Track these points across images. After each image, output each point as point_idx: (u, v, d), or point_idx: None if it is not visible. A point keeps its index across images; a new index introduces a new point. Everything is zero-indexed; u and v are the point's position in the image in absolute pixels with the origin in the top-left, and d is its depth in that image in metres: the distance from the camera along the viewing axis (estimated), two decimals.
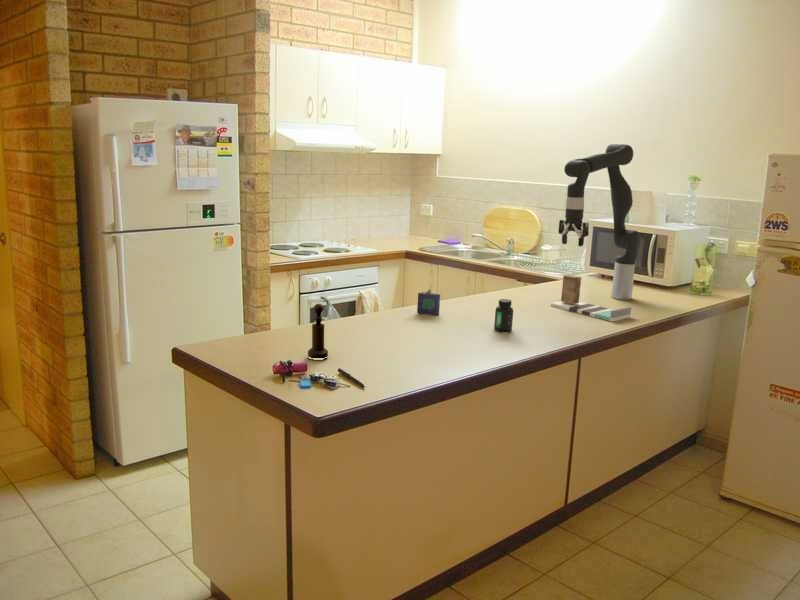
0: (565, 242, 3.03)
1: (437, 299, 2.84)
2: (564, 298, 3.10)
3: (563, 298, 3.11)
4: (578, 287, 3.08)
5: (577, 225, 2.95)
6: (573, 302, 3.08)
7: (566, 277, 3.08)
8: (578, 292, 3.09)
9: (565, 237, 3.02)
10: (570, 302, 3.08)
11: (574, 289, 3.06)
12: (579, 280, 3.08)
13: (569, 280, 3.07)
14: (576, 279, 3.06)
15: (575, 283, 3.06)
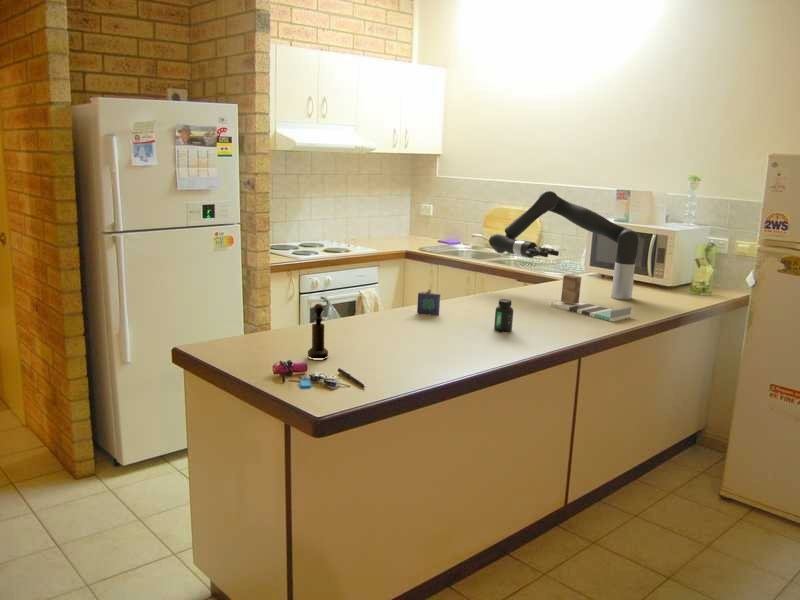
0: (556, 253, 3.18)
1: (437, 299, 2.84)
2: (564, 298, 3.10)
3: (563, 298, 3.11)
4: (578, 287, 3.08)
5: (533, 253, 3.20)
6: (573, 302, 3.08)
7: (566, 277, 3.08)
8: (578, 292, 3.09)
9: (552, 252, 3.20)
10: (570, 302, 3.08)
11: (574, 289, 3.06)
12: (579, 280, 3.08)
13: (569, 280, 3.07)
14: (576, 279, 3.06)
15: (575, 283, 3.06)
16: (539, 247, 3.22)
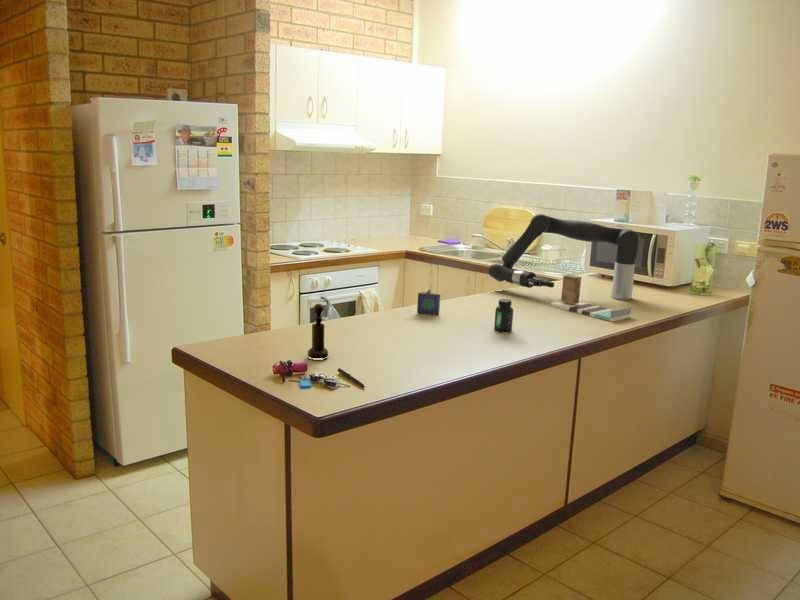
0: None
1: (437, 299, 2.84)
2: (564, 298, 3.10)
3: (563, 298, 3.11)
4: (578, 287, 3.08)
5: None
6: (573, 302, 3.08)
7: (566, 277, 3.08)
8: (578, 292, 3.09)
9: None
10: (570, 302, 3.08)
11: (574, 289, 3.06)
12: (579, 280, 3.08)
13: (569, 280, 3.07)
14: (576, 279, 3.06)
15: (575, 283, 3.06)
16: (537, 277, 3.25)
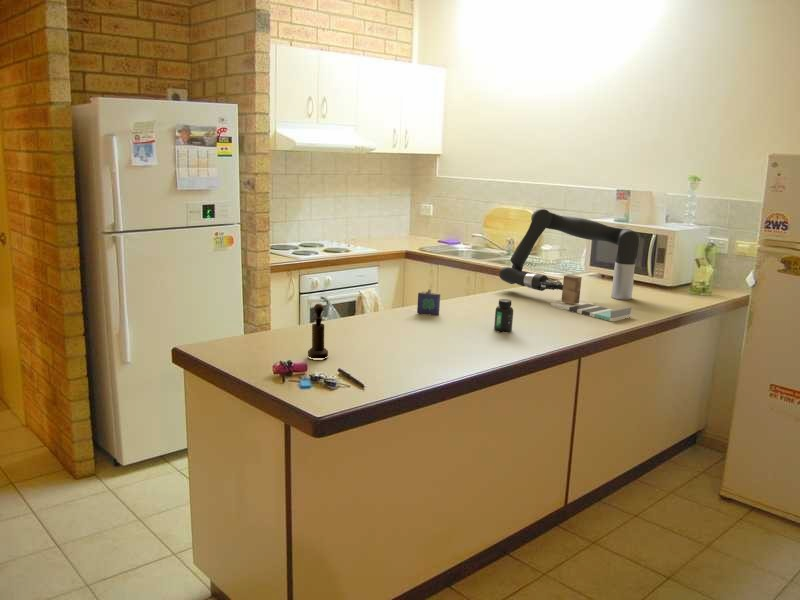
0: None
1: (437, 299, 2.84)
2: (565, 298, 3.10)
3: (563, 298, 3.11)
4: (578, 287, 3.08)
5: None
6: (573, 302, 3.08)
7: (566, 277, 3.08)
8: (578, 292, 3.09)
9: None
10: (570, 302, 3.08)
11: (574, 289, 3.06)
12: (579, 280, 3.08)
13: (569, 280, 3.07)
14: (576, 279, 3.06)
15: (575, 283, 3.06)
16: (549, 280, 3.20)
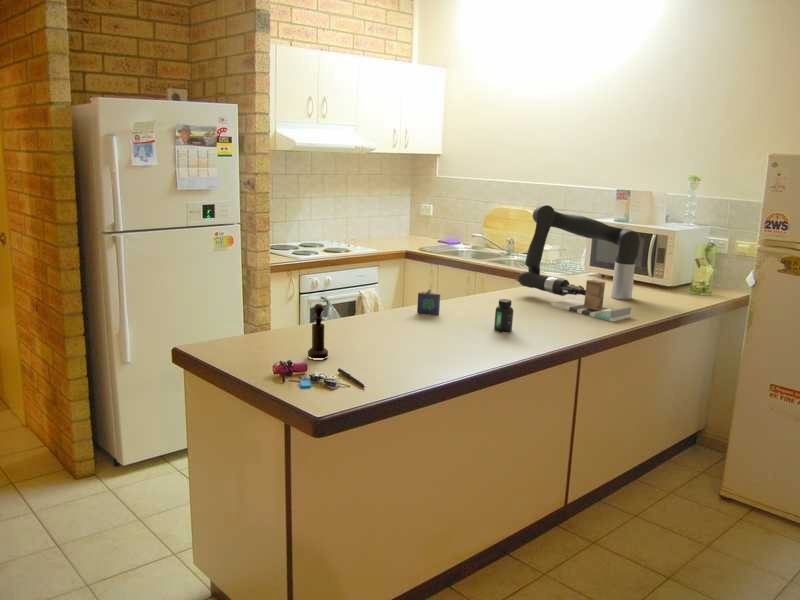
0: None
1: (437, 299, 2.84)
2: (587, 303, 3.01)
3: (586, 304, 3.02)
4: (602, 292, 2.99)
5: None
6: (597, 308, 2.99)
7: (589, 282, 2.99)
8: (602, 297, 3.00)
9: None
10: (594, 308, 2.99)
11: (597, 295, 2.97)
12: (603, 285, 2.99)
13: (593, 285, 2.98)
14: (600, 284, 2.97)
15: (598, 288, 2.97)
16: (571, 285, 3.11)
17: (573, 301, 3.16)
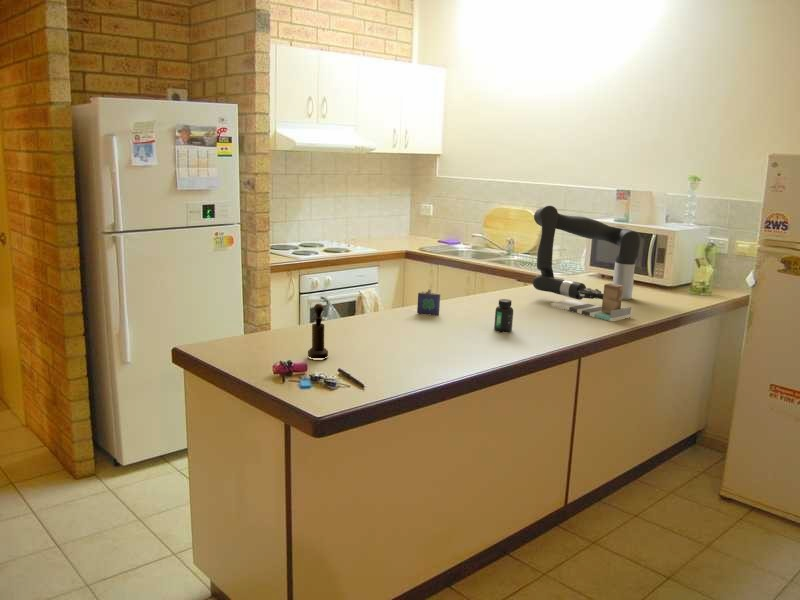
0: None
1: (437, 299, 2.84)
2: (605, 307, 2.95)
3: (604, 308, 2.95)
4: (620, 296, 2.93)
5: (585, 296, 3.02)
6: None
7: (607, 286, 2.93)
8: (620, 302, 2.94)
9: None
10: None
11: (615, 299, 2.91)
12: (621, 289, 2.92)
13: (611, 289, 2.92)
14: (618, 288, 2.90)
15: (617, 292, 2.90)
16: (588, 288, 3.04)
17: (573, 301, 3.16)
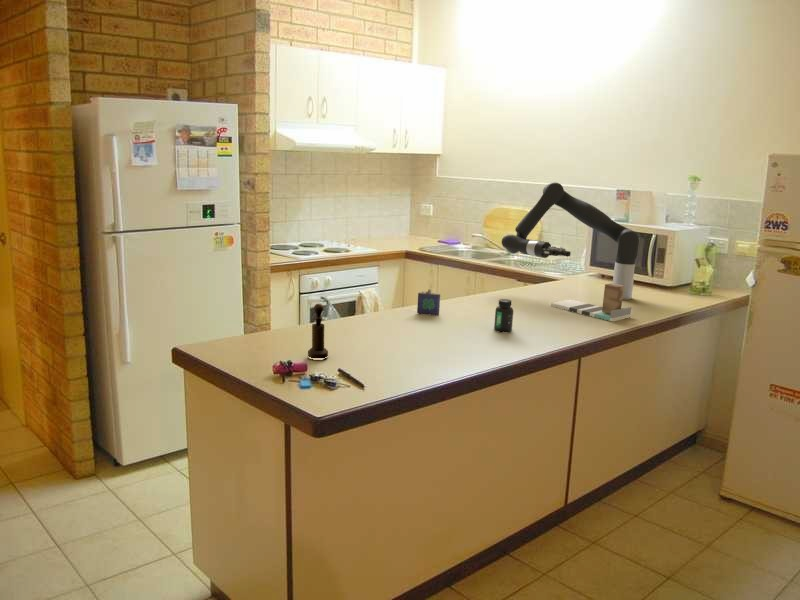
0: None
1: (437, 299, 2.84)
2: (606, 307, 2.94)
3: (604, 308, 2.95)
4: (620, 296, 2.93)
5: None
6: None
7: (608, 286, 2.92)
8: (620, 302, 2.93)
9: None
10: None
11: (616, 299, 2.91)
12: (622, 289, 2.92)
13: (611, 289, 2.91)
14: (619, 288, 2.90)
15: (617, 292, 2.90)
16: (552, 247, 3.16)
17: (573, 301, 3.16)
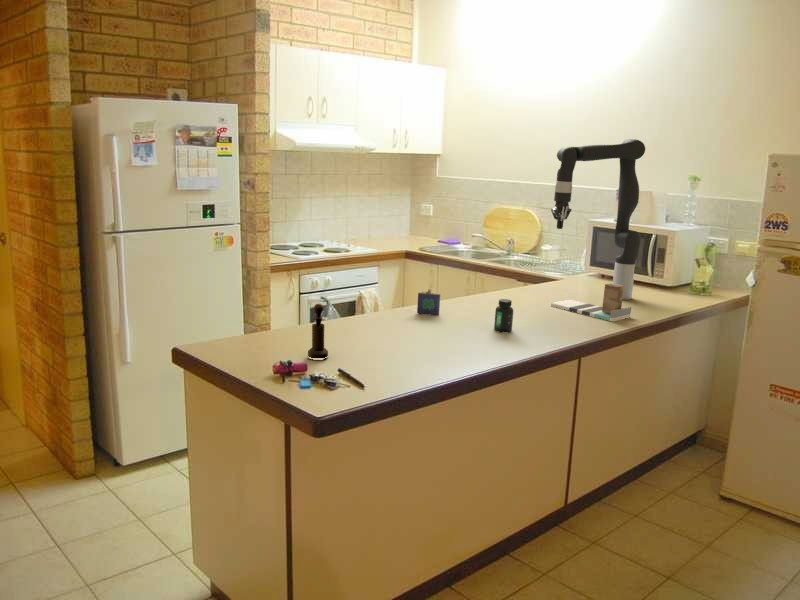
0: None
1: (437, 299, 2.84)
2: (606, 307, 2.94)
3: (604, 308, 2.95)
4: (620, 296, 2.93)
5: None
6: None
7: (608, 286, 2.92)
8: (620, 302, 2.93)
9: None
10: None
11: (616, 299, 2.91)
12: (622, 289, 2.92)
13: (611, 289, 2.91)
14: (619, 288, 2.90)
15: (617, 292, 2.90)
16: (565, 207, 3.19)
17: (573, 301, 3.16)
